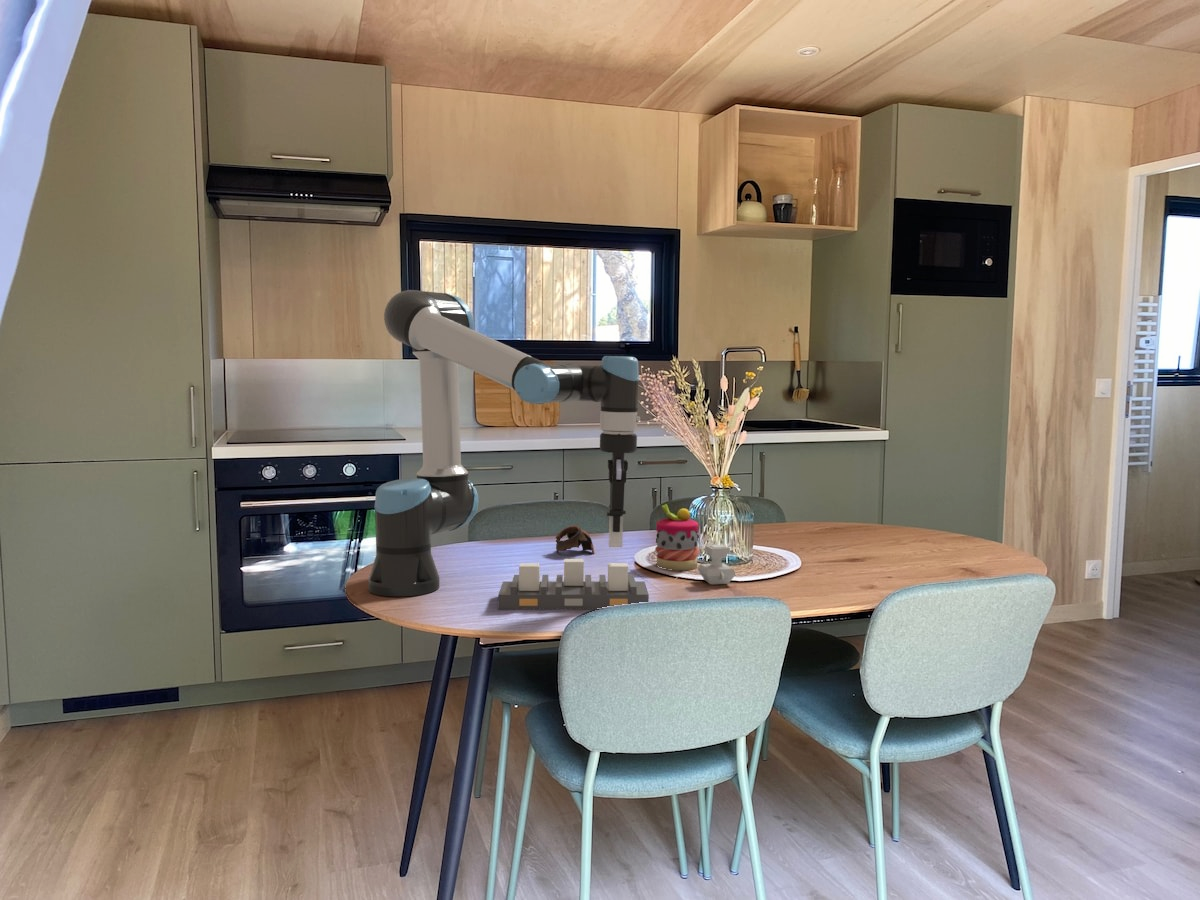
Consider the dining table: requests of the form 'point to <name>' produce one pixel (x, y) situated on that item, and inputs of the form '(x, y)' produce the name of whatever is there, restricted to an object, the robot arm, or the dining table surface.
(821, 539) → the dining table surface
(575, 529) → the brown broken ring
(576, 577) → the tab middle
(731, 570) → the grey angular blocky piece
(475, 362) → the robot arm
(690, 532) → the cake
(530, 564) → the tab left
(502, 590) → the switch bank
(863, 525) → the dining table surface
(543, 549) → the dining table surface
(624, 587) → the tab right
